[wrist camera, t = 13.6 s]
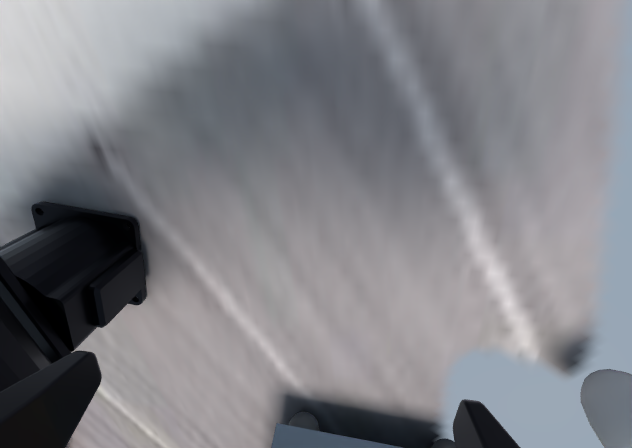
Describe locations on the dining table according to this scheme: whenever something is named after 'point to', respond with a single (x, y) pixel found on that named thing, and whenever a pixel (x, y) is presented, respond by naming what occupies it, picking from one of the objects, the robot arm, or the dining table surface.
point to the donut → (609, 406)
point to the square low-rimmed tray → (325, 436)
